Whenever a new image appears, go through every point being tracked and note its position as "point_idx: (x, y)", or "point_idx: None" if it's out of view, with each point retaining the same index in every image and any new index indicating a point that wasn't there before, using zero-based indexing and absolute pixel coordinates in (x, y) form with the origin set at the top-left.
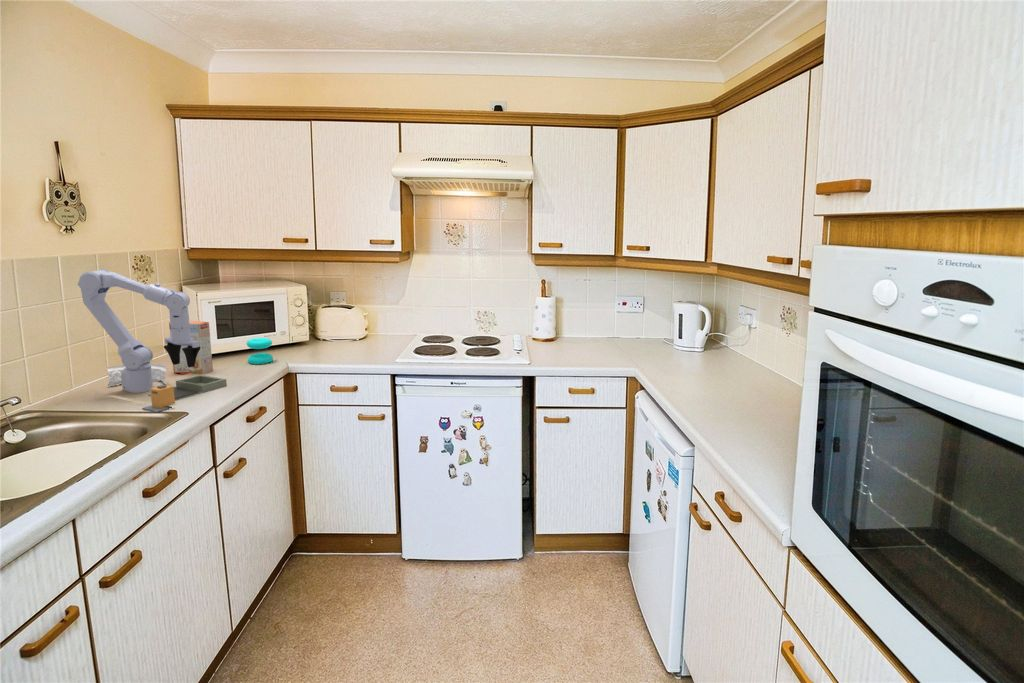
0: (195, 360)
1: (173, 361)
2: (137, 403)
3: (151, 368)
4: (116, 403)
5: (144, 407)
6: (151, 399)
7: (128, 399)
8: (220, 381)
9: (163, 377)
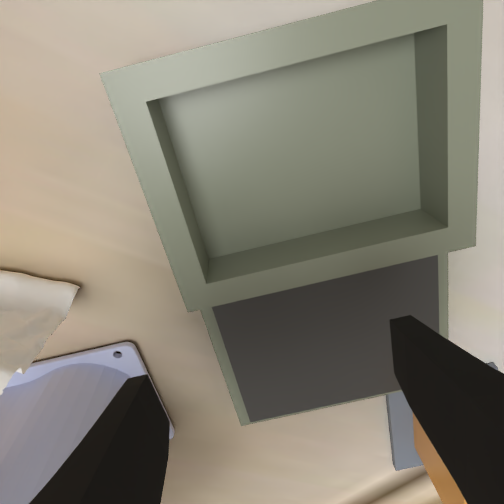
0: (466, 353)
1: (165, 462)
2: (287, 454)
3: None
4: (219, 497)
5: (396, 464)
6: (432, 480)
7: (190, 461)
8: (475, 56)
9: (28, 340)
